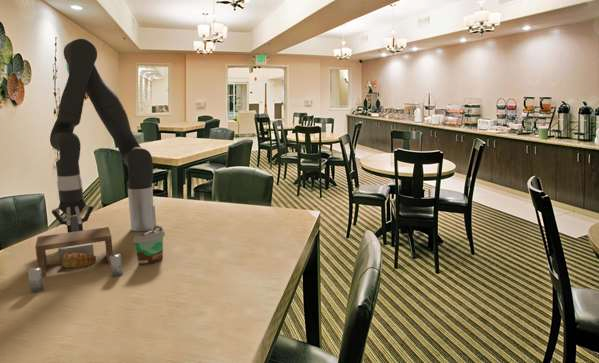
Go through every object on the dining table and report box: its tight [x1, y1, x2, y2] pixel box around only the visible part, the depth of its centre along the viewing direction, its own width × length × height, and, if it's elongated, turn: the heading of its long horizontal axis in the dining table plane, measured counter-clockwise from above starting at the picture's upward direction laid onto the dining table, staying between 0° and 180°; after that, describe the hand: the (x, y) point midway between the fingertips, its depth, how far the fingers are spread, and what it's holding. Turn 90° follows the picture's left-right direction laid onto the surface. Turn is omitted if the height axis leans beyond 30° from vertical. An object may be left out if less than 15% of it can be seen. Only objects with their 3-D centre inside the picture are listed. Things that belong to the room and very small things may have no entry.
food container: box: [133, 224, 166, 266], centre depth 129 cm, size 12×6×10 cm, turn 168°
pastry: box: [61, 252, 97, 269], centre depth 127 cm, size 9×7×4 cm
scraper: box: [57, 215, 95, 262], centre depth 138 cm, size 10×18×9 cm, turn 29°
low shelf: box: [34, 226, 114, 278], centre depth 125 cm, size 20×10×10 cm, turn 119°
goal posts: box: [27, 253, 123, 293], centre depth 113 cm, size 23×3×6 cm, turn 119°
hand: (75, 233), depth 145 cm, fingers closed on scraper
